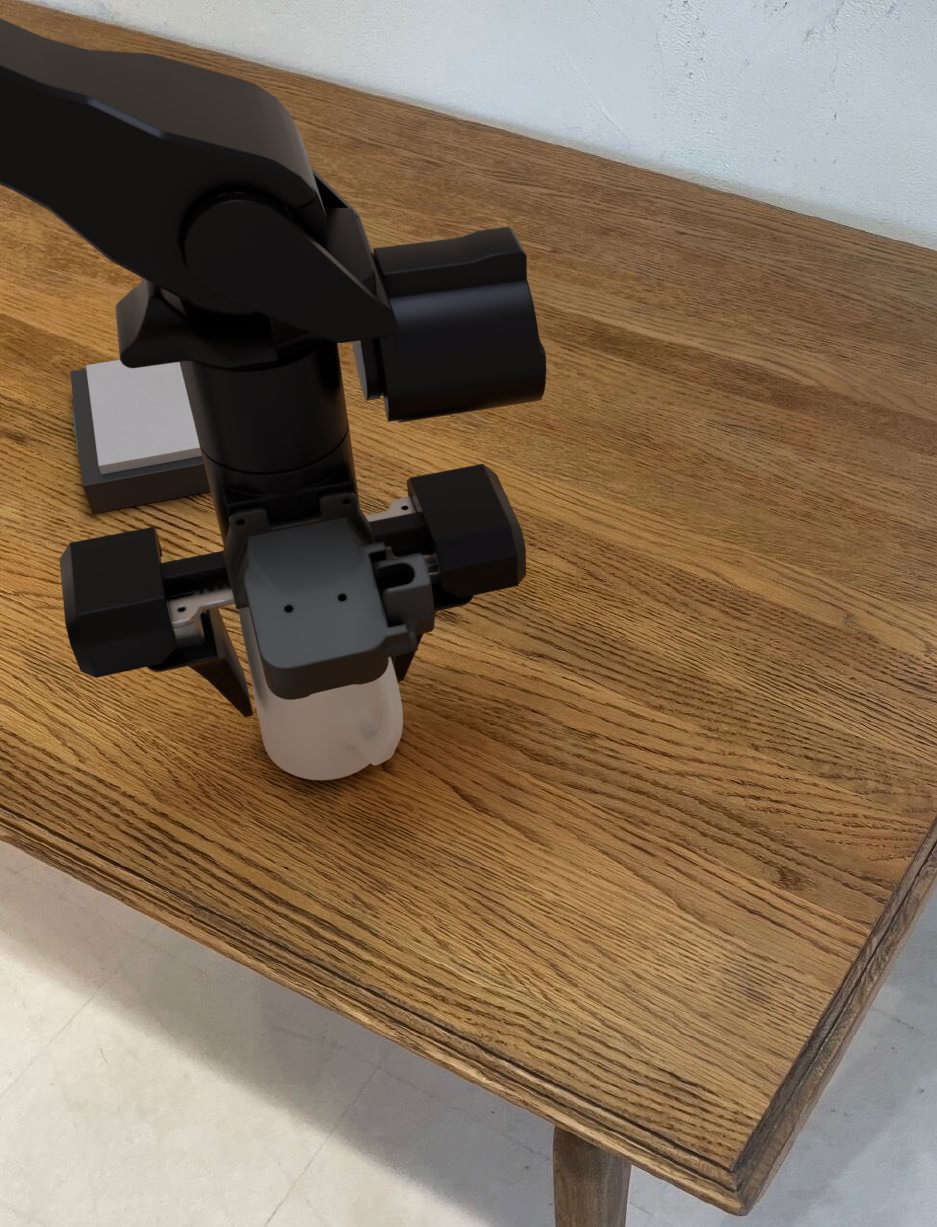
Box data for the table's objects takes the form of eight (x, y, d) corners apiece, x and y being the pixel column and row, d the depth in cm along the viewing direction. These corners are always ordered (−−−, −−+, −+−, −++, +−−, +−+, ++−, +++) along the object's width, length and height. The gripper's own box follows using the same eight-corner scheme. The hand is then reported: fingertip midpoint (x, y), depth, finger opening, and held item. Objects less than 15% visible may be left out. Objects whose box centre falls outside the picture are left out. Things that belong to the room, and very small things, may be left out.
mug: (232, 721, 66) (202, 544, 57) (346, 665, 69) (334, 490, 61) (340, 854, 61) (324, 680, 52) (458, 786, 64) (460, 613, 56)
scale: (89, 515, 77) (76, 477, 75) (76, 399, 85) (64, 362, 83) (295, 475, 80) (288, 438, 78) (264, 367, 88) (257, 331, 86)
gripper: (27, 622, 43) (135, 884, 54) (567, 512, 47) (563, 773, 58) (15, 424, 50) (112, 691, 61) (485, 345, 55) (495, 606, 66)
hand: (323, 692), depth 61 cm, fingers closed on mug, 7 cm apart
